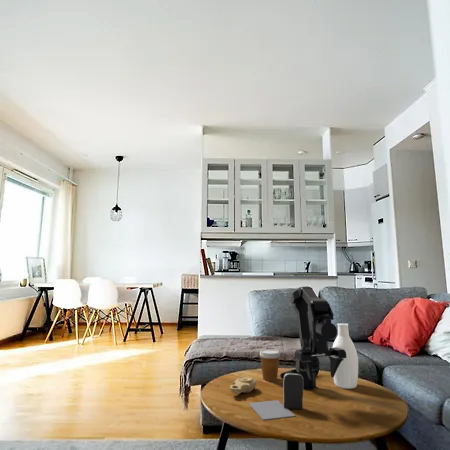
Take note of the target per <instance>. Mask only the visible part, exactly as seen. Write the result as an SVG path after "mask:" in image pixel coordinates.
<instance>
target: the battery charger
mask: <svg viewBox="0 0 450 450" xmlns="http://www.w3.org/2000/svg"><path fill="white" fill-rule="evenodd" d="M282 387H283V403H282V404H283V407H284V408H287V409H295V410H303V409H304V408H303V405H304V404H303V402H304V401H303V396H304V389H303V377H302V376H301V375H300V374H299V373H298V372H297V373H296V372H286V373H284V375H283V381H282Z"/></svg>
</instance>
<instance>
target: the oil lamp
mask: <svg viewBox="0 0 450 450" xmlns="http://www.w3.org/2000/svg"><path fill="white" fill-rule="evenodd" d="M257 385H258V384H257V380H256V379H254V378H253V377H252V376H249V375H241V376H239V377H238V378H236V379H235V381H233V384H230V385H229V389H230V392H231V393H232V394H234V395H238V394H241V393H251V392H252V391H253V390H254V389H255V388H256V386H257Z"/></svg>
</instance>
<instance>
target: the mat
mask: <svg viewBox="0 0 450 450" xmlns="http://www.w3.org/2000/svg"><path fill="white" fill-rule="evenodd" d="M248 405H249V406H250V407H251V408H252V410H254V412H255V413H256V414H257V415H258V416H259V418H260V419H261V420H262V421H267V420H276V419H283V418H284V419H286V418H292V417H296V415H295V414H294V413H293V412H292V411H291V410H290V409H289V408H284V407H283V403H281V402H280V401H279V400H278V399H276V400H267V401H257V402H248Z"/></svg>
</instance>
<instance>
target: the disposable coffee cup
mask: <svg viewBox="0 0 450 450" xmlns="http://www.w3.org/2000/svg"><path fill="white" fill-rule="evenodd" d="M280 357H281V353H280V351H279V350H277V349H269V348H268V349H261V350H260V352H259V358H260V363H261V364H260V365H261V373H262V380H264V381H267V382H275V381H277V380H278V373H279V363H280Z"/></svg>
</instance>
